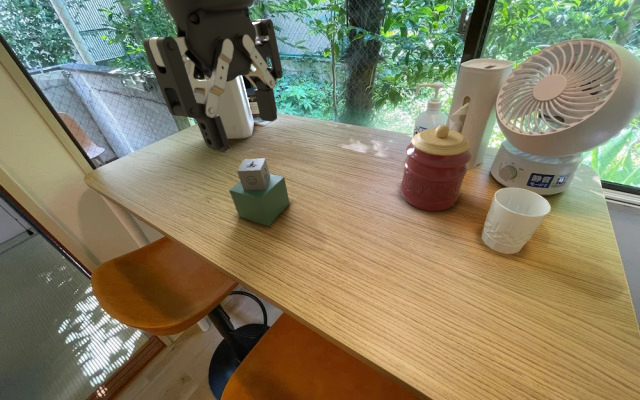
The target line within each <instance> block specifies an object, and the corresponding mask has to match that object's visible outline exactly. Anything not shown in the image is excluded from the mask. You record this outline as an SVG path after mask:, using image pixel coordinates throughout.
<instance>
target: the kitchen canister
mask: <svg viewBox="0 0 640 400" xmlns="http://www.w3.org/2000/svg"><path fill="white" fill-rule="evenodd" d="M470 147H471V141H470V140H469V139H468V138H467V137H466V136H464V135H463V134H462V133H461V132H458V131H457V130H454V129H450V127H449V126H448V125H446V124H439V125H437V127H433V128H432V127H431V128H427V129H424V130H422V131H421V132H418V133H416V134H414V135H413V136H412V138H411V142H410V143H409V144H408V145H407V146H406V149H405V150H406V151H405V153H406V155H407V157H406V158H405V160H404V164H403V165H404V169H403V175H402V181H401V184H400V190H401V196H402V198H403V199H404V200H405V202H406V203H408V204H410V205H411V206H413V207H414V208H418V209H420V210H424V211H429V212H430V211H432V212H433V211H434V212H436V211H444V210H447V209H449V208H451V207H453V206H454V205H455V204H456V202H457V201H458V199H459V197H460V194H461V187H462V184H463V182H464V178H465V175H466V174H467V172H468V166H467V164H468V163H469V162H470V161H471V159H472V155H473V154H472V151H471V150H470Z"/></svg>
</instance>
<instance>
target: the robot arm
mask: <svg viewBox="0 0 640 400" xmlns="http://www.w3.org/2000/svg"><path fill="white" fill-rule="evenodd" d="M161 1H162V4H163V7H164V9H165V11H166V12H167V13H168V14H169V15H170V16H171V17H172V20H173V21H174V23H175V28H176V36H174V37H173V36H172V37H171V36H170V35H169V36H162V35H161V36H152V37H151V36H150V37H146V38H144V39H143V42H142V44H143V48H144V51H145V53H146V56H147V59H148V61H149V64H150V66H151V69H152V72H153V74H154V76H155V78H156V81H157V84H158V87H159V89H160V92H161V94H162V97H163V99H164V101H165V104H166V107H167V109H168V112H169V114H171V115H172V116H174V117H182V118H183V117H184V118H190V119H194V120H195V122H196V124H197V126H198V129H199V132H200V134H201V135H202V138H203V141H204V144H205V146H207V147H208V149H212V150H213V151H214V152H217V153H218V152H219V153H224V154H225V153H227V152H228V151H229V150H231V145H230V142H229V139H228V138H227V135H226V132H225V129H224V126H223V123H222V120H221V118H220V115H216V113H217V108H218V102H219V96H220V95H221V94H222V93H223V92H224V90H225V84H226V82H229V81H232V80H234V79H235V78H236V77H237V76H242V77H244V78H246V79H247V80H248V81H249V82H250V84H252V86H253V87H254V88H255V89H254V90H253V91H254V92H253V93H254V96H255V101H256V105H257V109H258V113H259V118H260V119H261V120H262V122H263V121H265V122H270V123H271V122H273V123H274V121H276V120H277V119H278V108H277V102H276V97H275V91H274V88H275V87H276V81H277V80H278V79H280V80H281V79H282V78H283V75H284V73H283V68H282V63H281V58H280V51H279V46H278V42H277V37H276V31H275V27H274V23H273V20H272V19H271V18H263V19H261V18H260V19H251V16H250V12H249V9H251V8H252V7H253V6H254V5H255V0H161ZM187 57H188V58H189V59H190V60H191V61H192V63H191V69H190V75H189V77H188V74H187V71H186V68H185V63H186V62H187ZM268 58H269V59H270V64H271V66H269V62H268ZM205 75H206V76H207V77H208V78H210V79H209V80H204V78H205Z"/></svg>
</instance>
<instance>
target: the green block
mask: <svg viewBox="0 0 640 400" xmlns="http://www.w3.org/2000/svg"><path fill="white" fill-rule="evenodd" d="M269 174H270V179H269V181H268V184H267V187H266V189H264V190H243V187H242V184H241V181H240V180H239V182H237V183H236V184H235V185H233V186H232V187H231V188H230V189H229V190H228V191H229V194H230V196H231V200H232V202H233V204H234V207H235V210H236V213H237V215H238V217H240V218H242V219H245V220H249V221H251V222H254V223H256V224H260V225H263V226H266V227H269V226H270V225H271V224H272V223H273V222H274V221H275V220H276V219H277V218H278V217H279V215H280V214H281V213H282V212H283V211H284V210H285V209H286V208H287V207H288V206H289V205H290V199H289V193H288V188H287V183H286V179H285V177H284V176H281V175H277V174H273V173H269Z"/></svg>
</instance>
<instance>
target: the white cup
mask: <svg viewBox="0 0 640 400" xmlns="http://www.w3.org/2000/svg"><path fill="white" fill-rule="evenodd" d="M551 211H552V207H551V204H550V202H549V201H548V200H547V199H546V198H545V197H543V196H542V195H540V194H538V193H536V192H535V191H532V190H529V189H525V188H521V187H512V186H511V187H502V188H500V189H498V190H496V191H495V193H494V195H493V197H492V200H491V204H490V206H489V209H488V212H487V214H486V218H485V221H484V224H483V228H482V231H481V237H480V238H481V240H482V242H483V243H484V245H485V246H487V247H488V248H489V249H491V250H492V251H495V252H497V253H499V254H505V255H514V254H518V253H519V252H520V251H521V250H522V249H523V248H524V246H525V245H526V243H528V242H529V241H530V239H531V238H532V237H533V236H534V234H535V233H536V232H537V230H538V229H539V227H540V226H541V225H542V223H543V222H544V220H545V219H546V218H547V216H548V215H549V214H550V212H551Z"/></svg>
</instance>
